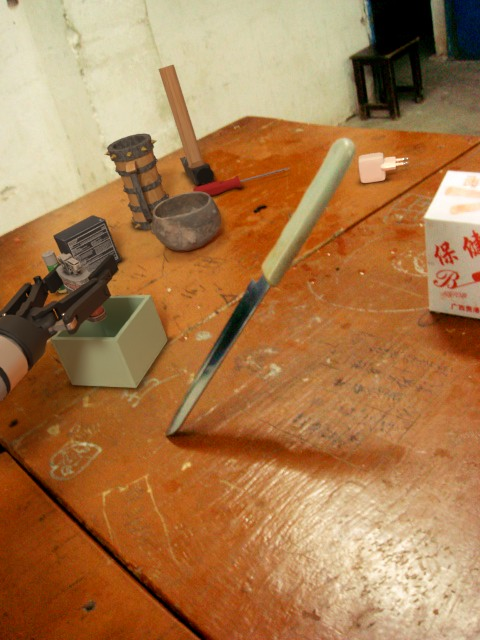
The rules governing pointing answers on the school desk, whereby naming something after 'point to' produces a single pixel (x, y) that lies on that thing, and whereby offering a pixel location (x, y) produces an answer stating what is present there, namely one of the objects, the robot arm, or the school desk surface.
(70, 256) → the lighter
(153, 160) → the mug
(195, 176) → the hammer
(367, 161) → the power adapter
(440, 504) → the school desk surface
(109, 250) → the small box
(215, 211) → the bowl
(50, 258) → the battery
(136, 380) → the trash bin
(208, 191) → the screwdriver
